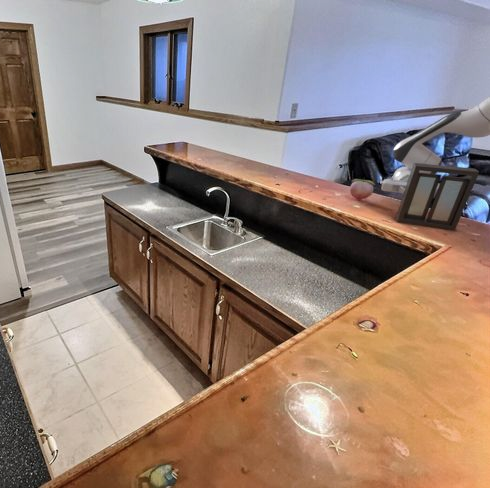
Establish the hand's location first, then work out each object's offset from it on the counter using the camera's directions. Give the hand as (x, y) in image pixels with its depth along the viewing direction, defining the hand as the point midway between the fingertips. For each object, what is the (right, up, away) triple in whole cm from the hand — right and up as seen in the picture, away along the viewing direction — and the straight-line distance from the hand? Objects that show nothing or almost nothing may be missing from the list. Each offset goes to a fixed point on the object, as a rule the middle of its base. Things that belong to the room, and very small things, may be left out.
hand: (414, 193), depth 131 cm
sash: (+1, -8, +3) cm, 9 cm away
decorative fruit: (-8, +1, +24) cm, 25 cm away
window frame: (+3, -11, 0) cm, 12 cm away
